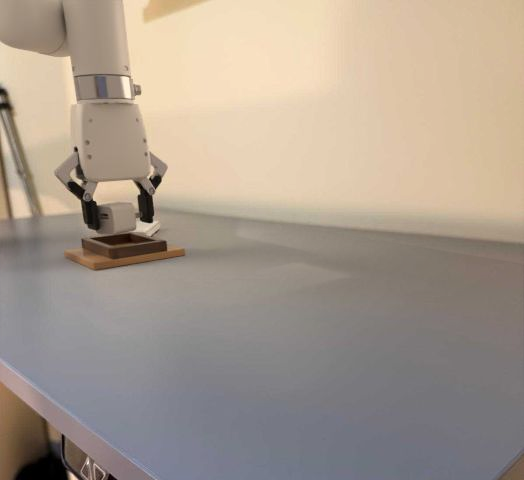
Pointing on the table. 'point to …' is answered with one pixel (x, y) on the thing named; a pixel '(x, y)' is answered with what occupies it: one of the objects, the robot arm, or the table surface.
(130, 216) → the usb wall charger
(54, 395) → the table surface
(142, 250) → the wooden tray
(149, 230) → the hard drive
